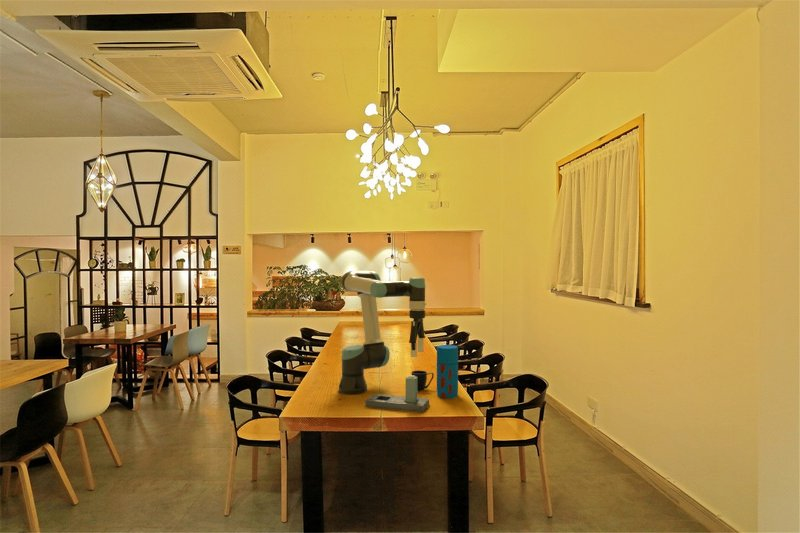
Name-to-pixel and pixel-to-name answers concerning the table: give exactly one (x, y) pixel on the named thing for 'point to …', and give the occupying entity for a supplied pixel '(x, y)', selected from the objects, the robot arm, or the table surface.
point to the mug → (421, 379)
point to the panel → (396, 403)
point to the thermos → (447, 371)
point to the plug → (411, 389)
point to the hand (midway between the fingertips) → (417, 354)
